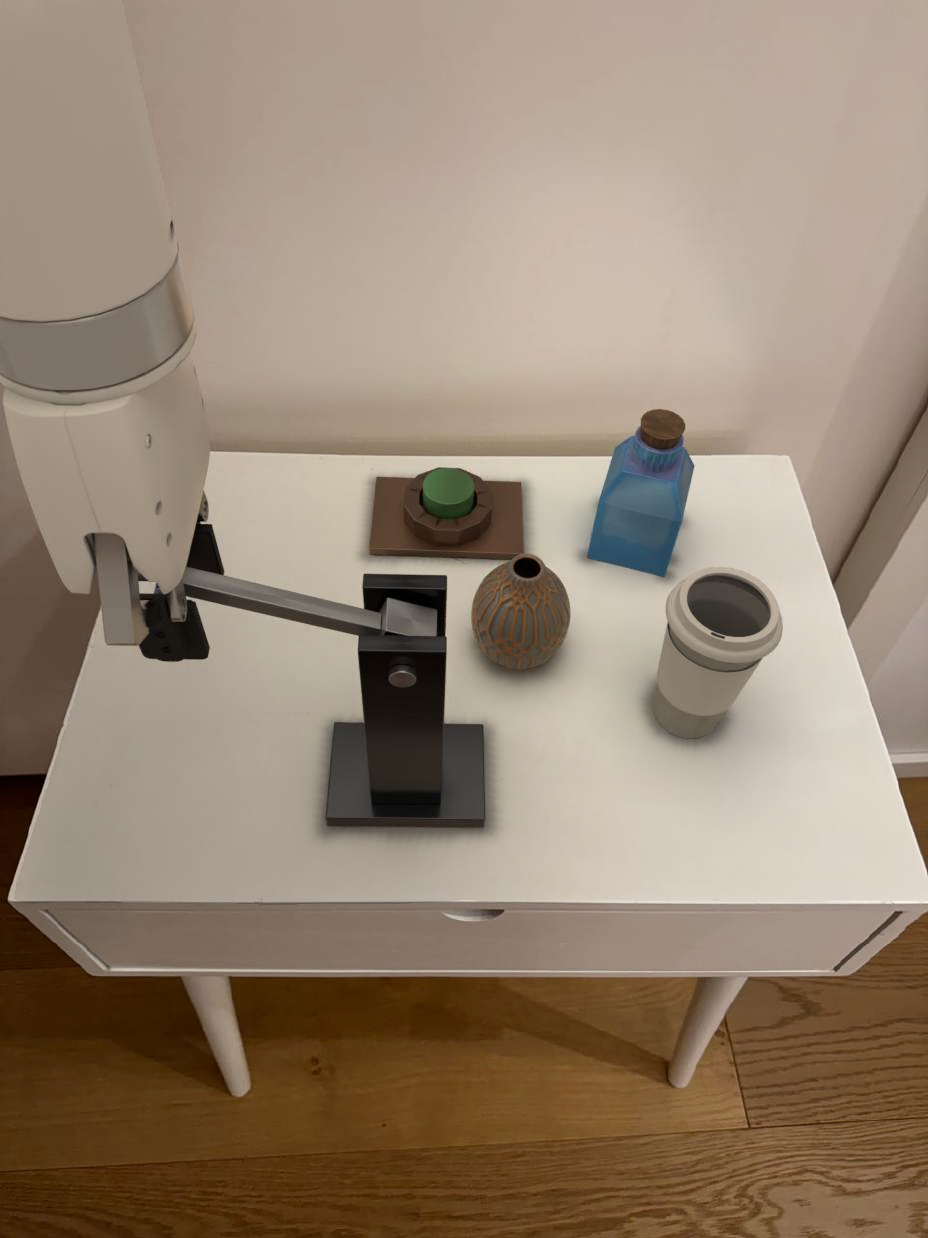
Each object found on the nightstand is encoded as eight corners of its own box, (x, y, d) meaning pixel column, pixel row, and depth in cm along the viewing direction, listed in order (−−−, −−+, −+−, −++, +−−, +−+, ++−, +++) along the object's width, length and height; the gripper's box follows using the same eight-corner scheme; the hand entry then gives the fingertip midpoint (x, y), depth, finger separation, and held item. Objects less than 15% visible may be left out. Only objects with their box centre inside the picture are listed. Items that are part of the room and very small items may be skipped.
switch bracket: (326, 826, 60) (298, 666, 46) (335, 730, 65) (311, 557, 50) (484, 828, 61) (503, 669, 47) (482, 732, 65) (499, 561, 51)
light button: (421, 519, 74) (421, 503, 73) (423, 482, 76) (423, 466, 75) (473, 520, 74) (474, 505, 73) (473, 484, 76) (474, 468, 75)
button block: (369, 554, 74) (367, 532, 72) (376, 482, 79) (375, 459, 77) (522, 560, 75) (525, 538, 73) (520, 487, 79) (523, 465, 77)
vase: (484, 693, 67) (491, 617, 60) (458, 617, 71) (462, 537, 64) (577, 673, 68) (594, 596, 61) (546, 600, 72) (559, 520, 65)
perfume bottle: (586, 557, 75) (610, 442, 65) (602, 503, 79) (627, 387, 69) (664, 576, 74) (700, 462, 64) (677, 521, 78) (713, 405, 68)
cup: (622, 728, 66) (656, 622, 56) (650, 656, 69) (687, 546, 60) (723, 767, 64) (775, 665, 54) (746, 692, 68) (799, 584, 58)
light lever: (146, 621, 46) (153, 592, 44) (162, 558, 48) (169, 528, 46) (420, 681, 50) (436, 657, 48) (422, 621, 52) (437, 595, 51)
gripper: (38, 181, 39) (144, 497, 54) (-108, 465, 29) (72, 760, 44) (222, 185, 39) (278, 499, 54) (141, 470, 29) (237, 762, 44)
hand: (185, 613), depth 49 cm, fingers closed on light lever, 4 cm apart
